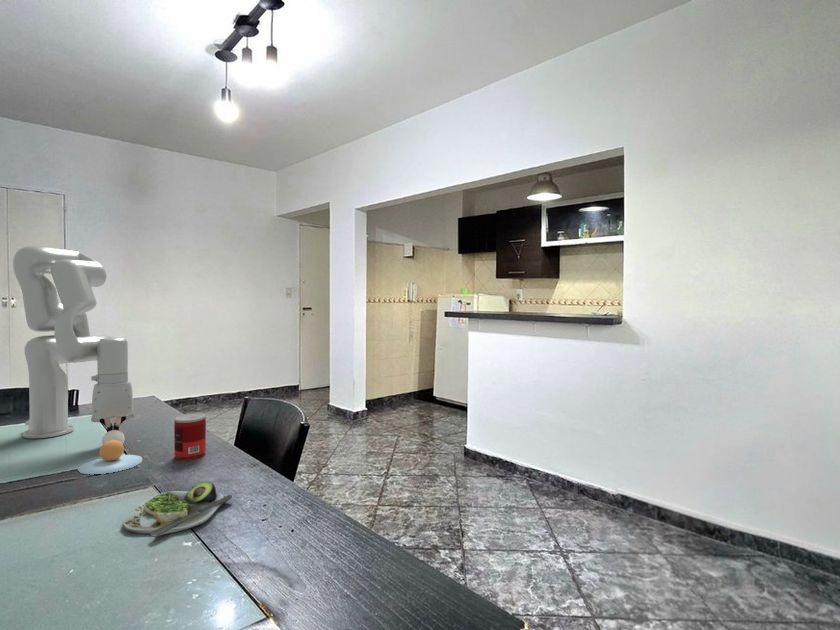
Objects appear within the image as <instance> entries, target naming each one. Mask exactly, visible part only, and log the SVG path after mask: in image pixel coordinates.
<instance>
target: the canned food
mask: <svg viewBox="0 0 840 630" xmlns="http://www.w3.org/2000/svg"><path fill="white" fill-rule="evenodd" d="M173 422H174V430H173V431H174V433H173V434H174V435H173V436H174V438H173V439H174V445H173V446H174V457H175V459H176V460H179V459H180V460H179V461H187V460H189V459H190V460H193V459H198V458H200V457H203V456H204V455H205V453H206V450H207V449H206V448H207V447H206V446H207V445H206V440H207V439H206V434H207V432H206V429H207V427H206V426H207V423H206V422H207V421H206V414H204V413H196V412H195V413H187V414H185V413H184V414H181V415H178V416H176V417H174V421H173Z"/></svg>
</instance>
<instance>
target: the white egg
mask: <svg viewBox="0 0 840 630" xmlns="http://www.w3.org/2000/svg"><path fill="white" fill-rule="evenodd" d="M110 440H117V441H120V442H121V443H122V444H123V445H124V443H125V440H126V439H125V434H124V433H123V432H122V431H120V429H119V430H111V431H109V432H107V431H106V432H105V434H104V435H103V436H102V438H101V444H102V445H103V444H104V443H105V442H107V441H110Z"/></svg>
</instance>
